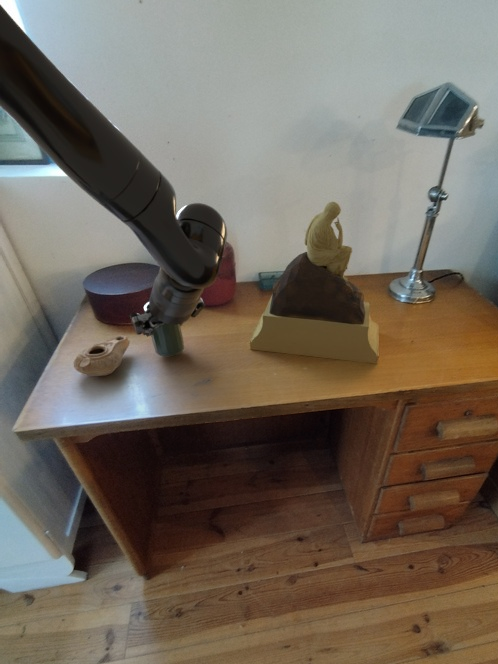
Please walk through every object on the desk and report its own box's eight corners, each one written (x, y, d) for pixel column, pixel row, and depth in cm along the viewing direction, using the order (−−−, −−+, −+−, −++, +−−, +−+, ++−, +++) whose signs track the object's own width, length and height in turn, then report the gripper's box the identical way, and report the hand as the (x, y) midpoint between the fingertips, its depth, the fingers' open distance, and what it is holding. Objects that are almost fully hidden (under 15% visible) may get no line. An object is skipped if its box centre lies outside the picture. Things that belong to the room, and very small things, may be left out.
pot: (157, 359, 78) (145, 315, 72) (153, 344, 82) (142, 301, 76) (186, 353, 80) (177, 310, 74) (181, 338, 84) (172, 296, 78)
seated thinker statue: (377, 332, 92) (403, 195, 72) (377, 363, 82) (407, 215, 62) (263, 320, 94) (258, 184, 74) (250, 349, 85) (240, 202, 65)
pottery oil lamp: (146, 351, 82) (140, 335, 76) (109, 395, 77) (99, 381, 71) (111, 331, 82) (102, 312, 76) (72, 373, 78) (59, 357, 71)
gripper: (204, 265, 68) (186, 301, 82) (123, 285, 61) (119, 320, 76) (222, 304, 68) (201, 332, 83) (143, 328, 61) (135, 355, 76)
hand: (162, 326), depth 79 cm, fingers closed on pot, 6 cm apart
